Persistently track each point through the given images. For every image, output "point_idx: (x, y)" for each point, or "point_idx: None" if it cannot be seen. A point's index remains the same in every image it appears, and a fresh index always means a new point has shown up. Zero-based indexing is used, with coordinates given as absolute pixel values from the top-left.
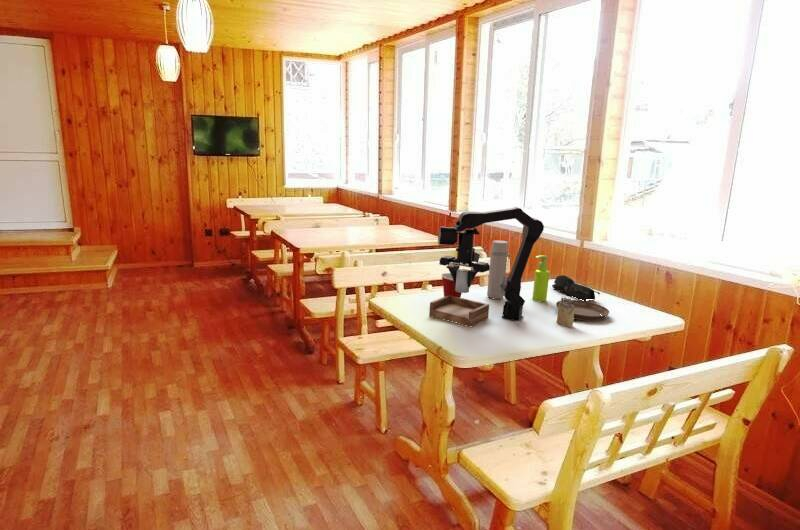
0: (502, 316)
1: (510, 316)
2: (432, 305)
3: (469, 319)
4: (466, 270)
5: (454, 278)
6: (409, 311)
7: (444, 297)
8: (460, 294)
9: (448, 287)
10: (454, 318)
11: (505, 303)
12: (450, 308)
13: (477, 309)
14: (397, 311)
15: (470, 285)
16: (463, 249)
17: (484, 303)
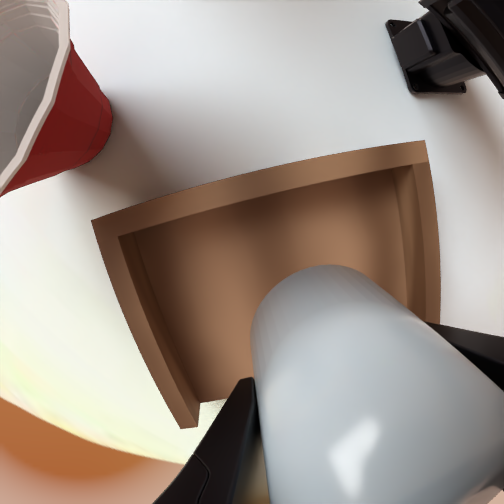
0: (412, 86)
1: (448, 85)
2: (197, 416)
3: None
4: (470, 488)
5: (266, 482)
6: (102, 397)
7: (126, 297)
8: (95, 88)
9: (24, 183)
10: None
11: (450, 54)
12: (241, 320)
13: (437, 294)
14: (91, 423)
15: (437, 331)
16: None
17: (397, 147)
